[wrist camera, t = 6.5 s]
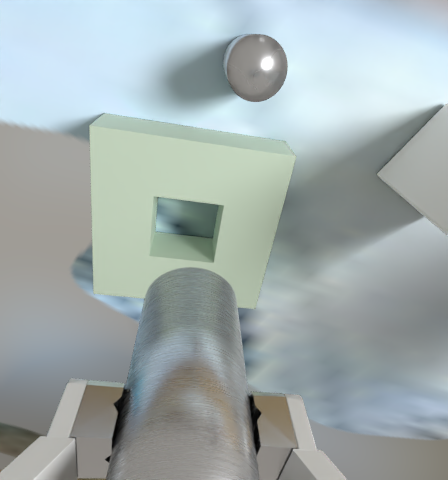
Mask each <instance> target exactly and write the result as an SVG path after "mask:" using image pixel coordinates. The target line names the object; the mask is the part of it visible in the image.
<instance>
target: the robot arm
mask: <svg viewBox="0 0 448 480" xmlns="http://www.w3.org/2000/svg"><path fill="white" fill-rule="evenodd" d="M124 393H125V383H116V382H106V381H95V380H85V379H70V380H69V381H68V383H67V384H66V387H65V389H64V392H63V394H62V397H61V399H60V402H59V405H58V407H57V410H56V412H55V415H54V417H53V420H52V423H51V425H50V428H49V430H48V433H47V435H46V436H40V437H39V438H38V439H37V440H35V441H34V442H33V443H32V444H31V445H30V446H29V447H28V448H27V449H25V450H24V451H23V452H22V453H21V454H20V455H19V456H18V457H16V458H15V459H14V460H13V461H12V462H11V463H10V464H9V465H8V466H6V467H5V468H4V469H3V470H2V471H1V472H0V480H77V478H106V475H107V470H108V466H109V461H110V456H111V452H112V448H113V444H114V439H115V434H116V430H117V424H118V420H119V415H120V411H121V407H122V402H123V397H124ZM249 401H250V409H251V417H252V425H253V433H254V440H255V448H256V456H257V464H258V471H259V479H260V480H347V479H346V478H345V477H344V475H343V474H342V473H341V472H340V471H339V470H338V468H337V467H336V466H335V465H334V464H333V463H332V462H331V460H330V459H329V458H328V457H327V456H326V455H325V453H324V452H323V451H321V450H317V448H316V445H315V441H314V438H313V434H312V431H311V427H310V423H309V420H308V416H307V413H306V409H305V406H304V402H303V399H302V397H301V396H300V395H294V394H282V393H268V392H250V393H249Z"/></svg>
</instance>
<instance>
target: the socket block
mask: <svg viewBox="0 0 448 480" xmlns="http://www.w3.org/2000/svg"><path fill="white" fill-rule="evenodd" d="M89 133H90V173H91V213H92V253H93V293H94V294H102V295H113V296H124V297H134V298H145V295H146V292H147V290H148V288H149V286H150V285H151V284H152V283H153V282H154V281H155V280H156V279H157V278H158V277H160V276H161V275H163V274H164V273H166V272H169V271H171V270H175V269H178V268H185V267H195V268H202V269H206V270H210V271H212V272H215V273H216V274H218V275H220V276H221V277H223V278H224V279H225V280H226V281H227V282H228V283H229V284H230V285H231V287H232V288H233V290H234V292H235V295H236V300H237V307H240V308H250V309H255V308H256V304H257V301H258V297H259V293H260V290H261V286H262V282H263V278H264V275H265V271H266V267H267V264H268V260H269V256H270V253H271V249H272V245H273V241H274V238H275V234H276V230H277V227H278V223H279V219H280V216H281V212H282V208H283V204H284V201H285V197H286V193H287V190H288V186H289V182H290V178H291V175H292V171H293V167H294V164H295V160H296V155H295V154H294V153H293V151H292V150H291V149H290V147H289V146H288V144H287V143H286V142H285V141H280V140H273V139H267V138H260V137H254V136H247V135H241V134H235V133H228V132H222V131H215V130H209V129H202V128H196V127H190V126H183V125H177V124H170V123H164V122H157V121H151V120H145V119H138V118H132V117H125V116H119V115H112V114H106V113H104V114H103V115H102V116H100V117H99V118H98V119H97V120H95V121H94V122H93V123H92V124H90V125H89ZM158 197H163V198H170V199H178V200H186V201H194V202H201V203H209V204H217V205H218V211H217V217H216V222H215V228H214V234H213V238H205V237H196V236H188V235H179V234H171V233H162V232H155V229H156V216H157V203H158Z"/></svg>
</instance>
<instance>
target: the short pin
mask: <svg viewBox="0 0 448 480" xmlns="http://www.w3.org/2000/svg"><path fill="white" fill-rule="evenodd" d="M223 69H224V73H225V75H226V77H227V80H228V82H229V84H230V86H231V88H232V89H233V91H234V92H235V93H236V94H237V95H238V96H240V97H241V98H243V99H245V100H247V101H251V102H260V101H264V100H267V99H269V98H271V97H272V96H273V95H275V94H276V93H277V92H278V91H279V90H280V88H281V87H282V85H283V83H284V81H285V78H286V75H287V58H286V55H285V52H284V50H283V48H282V47H281V45H280V44H279V43H278V42H277V41H276V40H274V39H273V38H271V37H269V36H266V35H261V34H245V35H241V36H239V37H237V38H235V39H234V40H233V41H232V42H231V43H230V44H229V45H228V47H227V49H226V51H225V54H224V58H223Z"/></svg>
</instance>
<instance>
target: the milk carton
mask: <svg viewBox="0 0 448 480" xmlns="http://www.w3.org/2000/svg"><path fill="white" fill-rule="evenodd" d="M377 176H378V177H379V178H381V179H382V180H383V181H384V182H385V183H386V184H387V185H389V186H390V187H391V188H392V189H393V190H394V191H396V192H397V193H398V194H399V195H400V196H401V197H402V198H404V199H405V200H406V201H407V202H408V203H409V204H411V205H412V206H413V207H414V208H415V209H416V210H418V211H419V212H420V213H421V214H422V215H423V216H425V217H426V218H427V219H428V220H429V221H431V222H432V223H433V224H434V225H435V226H437V227H438V228H439V229H440V230H441V231H443V232H444V233H445V234H446V235H447V236H448V104H445V105H444V106H443V107H442V108H441V109H440V110H439V111H438V112H437V113H436V114H435V115H434V116H433V117H432V118H431V119H430V120H429V121H428V122H427V123H426V125H425V126H424V127H423V128H422V129H421V130H420V131H419V132H418V133H417V134H416V135H415V136H414V137H413V138H412V139H411V140H410V141H409V142H408V143H407V144H406V145H405V146H404V147H403V148H402V149H401V150H400V151H399V152H398V153H397V154H396V155H395V156H394V157H393V158H392V159H391V160H390V161H389V162H388V163H387V164H386V165H385V166H384V167H383V168H382V169H381V170H380V171H379V172H378V173H377Z"/></svg>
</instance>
